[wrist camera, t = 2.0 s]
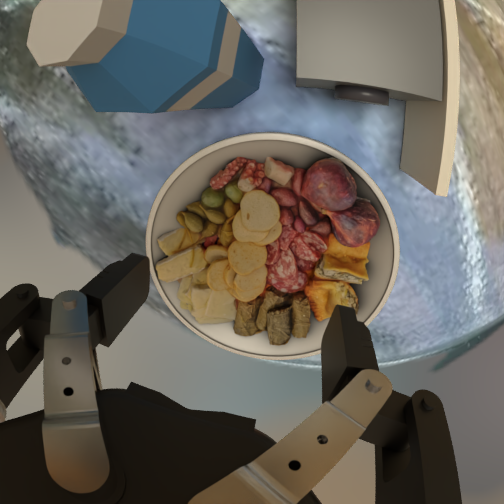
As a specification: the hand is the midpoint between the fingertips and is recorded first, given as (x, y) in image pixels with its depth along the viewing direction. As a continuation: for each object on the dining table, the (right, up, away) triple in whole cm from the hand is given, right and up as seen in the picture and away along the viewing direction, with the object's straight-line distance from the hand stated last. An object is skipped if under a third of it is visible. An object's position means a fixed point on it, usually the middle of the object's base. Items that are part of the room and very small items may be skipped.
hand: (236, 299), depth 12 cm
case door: (+18, +23, +11) cm, 32 cm away
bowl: (+3, +2, +26) cm, 26 cm away
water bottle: (-2, +22, +16) cm, 27 cm away
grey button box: (+11, +27, +11) cm, 31 cm away
